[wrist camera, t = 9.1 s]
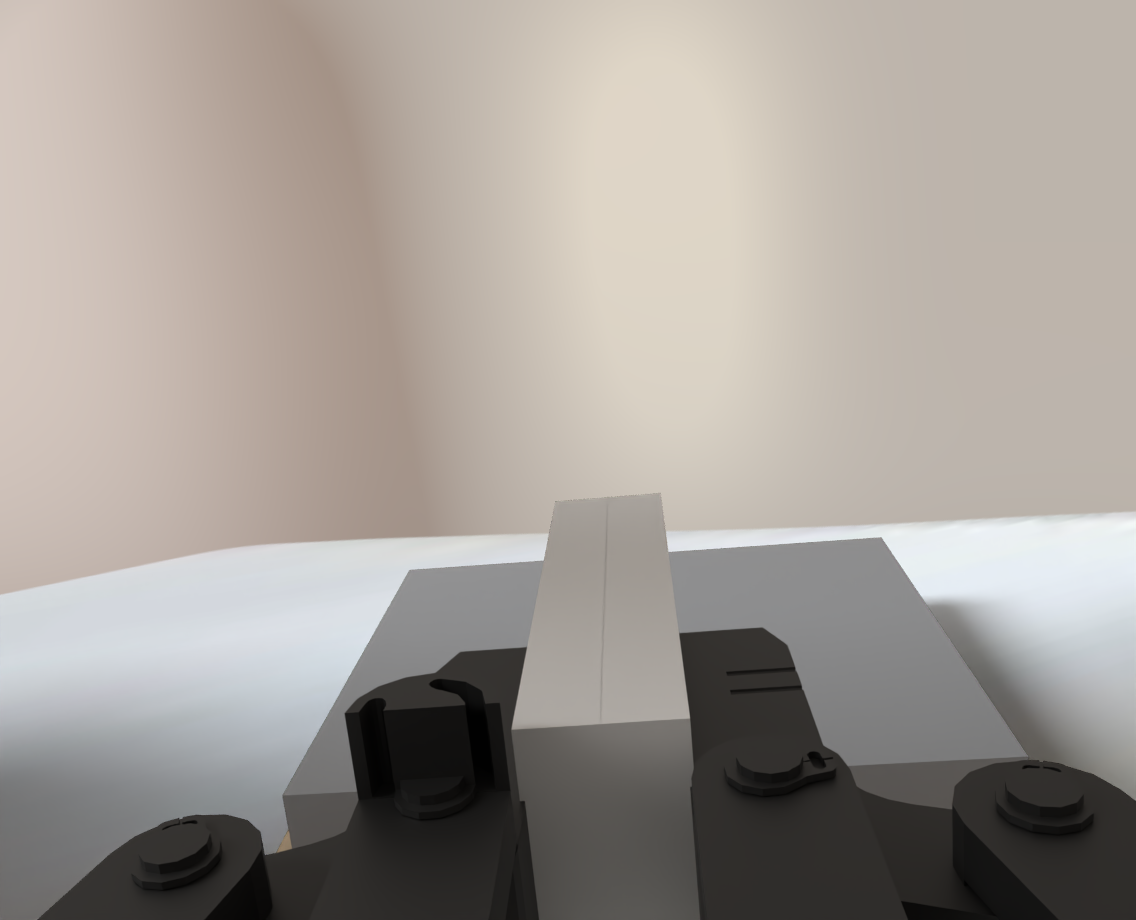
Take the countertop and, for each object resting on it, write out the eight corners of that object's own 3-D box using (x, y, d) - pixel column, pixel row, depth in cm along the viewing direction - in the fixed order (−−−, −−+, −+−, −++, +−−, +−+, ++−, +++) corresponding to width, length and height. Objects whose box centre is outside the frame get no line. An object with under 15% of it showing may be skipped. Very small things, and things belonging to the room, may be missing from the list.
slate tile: (282, 795, 24) (409, 569, 37) (299, 887, 25) (418, 632, 38) (1028, 756, 23) (881, 537, 36) (1026, 854, 23) (882, 603, 37)
